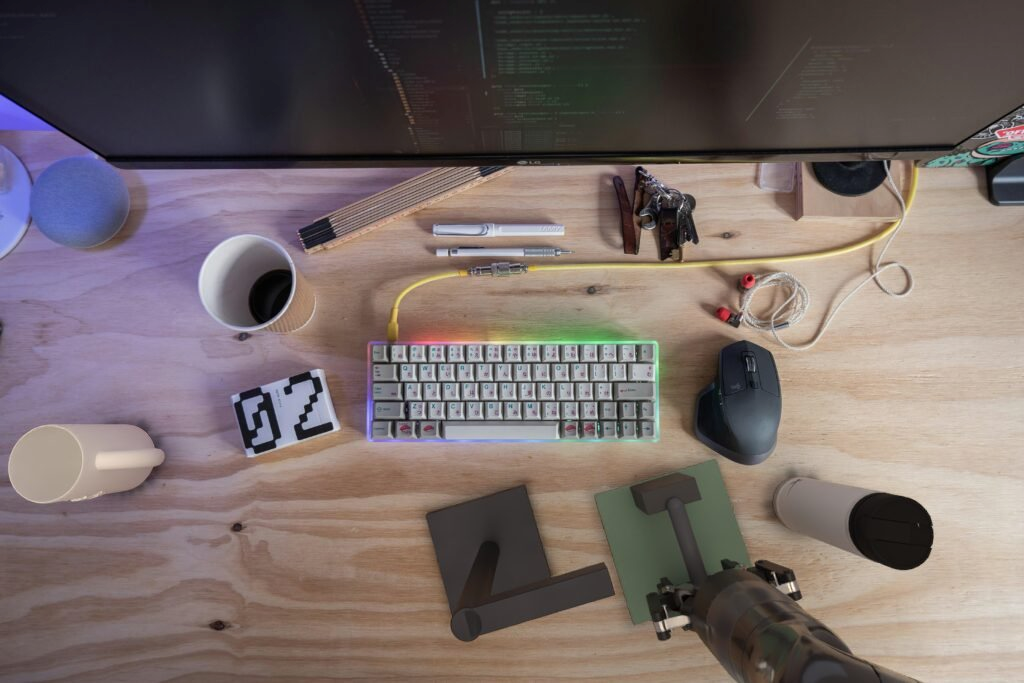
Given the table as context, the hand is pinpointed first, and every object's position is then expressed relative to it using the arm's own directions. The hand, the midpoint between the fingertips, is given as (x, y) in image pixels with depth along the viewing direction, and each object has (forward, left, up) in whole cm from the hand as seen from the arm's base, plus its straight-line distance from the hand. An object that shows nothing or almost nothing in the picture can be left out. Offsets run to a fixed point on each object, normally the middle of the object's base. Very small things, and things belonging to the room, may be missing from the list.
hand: (696, 577), depth 64 cm
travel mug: (+3, -15, -6) cm, 16 cm away
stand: (+8, +18, -5) cm, 21 cm away
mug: (+30, +59, -6) cm, 66 cm away
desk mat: (+3, 0, -5) cm, 6 cm away
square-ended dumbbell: (+3, 0, -5) cm, 6 cm away
